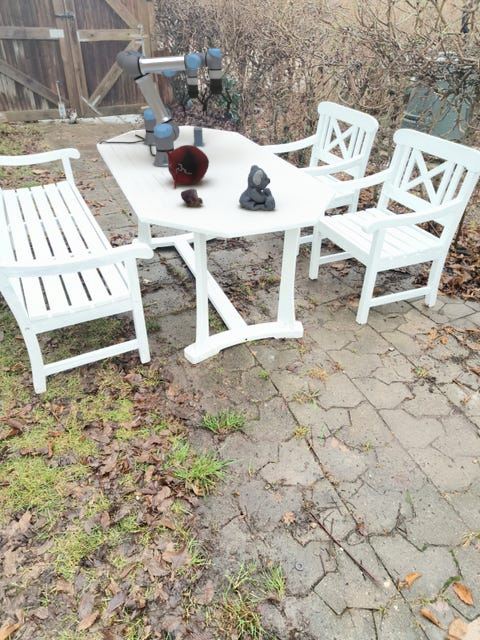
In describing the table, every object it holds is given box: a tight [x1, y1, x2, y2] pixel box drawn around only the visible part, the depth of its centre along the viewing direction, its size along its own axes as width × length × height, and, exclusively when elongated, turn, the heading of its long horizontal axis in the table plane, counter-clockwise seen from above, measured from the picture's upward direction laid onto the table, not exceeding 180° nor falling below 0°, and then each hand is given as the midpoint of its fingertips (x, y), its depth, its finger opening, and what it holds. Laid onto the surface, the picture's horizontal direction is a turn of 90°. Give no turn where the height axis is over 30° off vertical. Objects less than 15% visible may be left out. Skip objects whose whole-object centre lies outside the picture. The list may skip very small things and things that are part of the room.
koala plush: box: [238, 164, 276, 211], centre depth 224 cm, size 17×18×20 cm
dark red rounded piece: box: [165, 144, 210, 189], centre depth 257 cm, size 21×24×25 cm
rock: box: [180, 188, 204, 207], centre depth 229 cm, size 12×9×10 cm
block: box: [193, 126, 204, 147], centre depth 332 cm, size 9×6×12 cm
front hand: (217, 115), depth 287 cm, fingers open, 13 cm apart
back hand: (194, 116), depth 333 cm, fingers open, 13 cm apart
